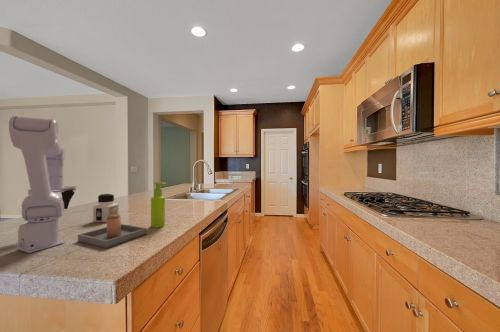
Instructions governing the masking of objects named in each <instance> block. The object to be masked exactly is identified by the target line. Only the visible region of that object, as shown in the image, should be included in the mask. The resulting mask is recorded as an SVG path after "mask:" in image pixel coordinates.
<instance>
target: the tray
mask: <svg viewBox="0 0 500 332" xmlns="http://www.w3.org/2000/svg"><path fill="white" fill-rule="evenodd" d="M147 232H148V231H147V227H144V226H143V227H142V226H137V225H131V224H126V223H125V224H124V223H121V236H119V237H115V238H107V226H105V227H102V228H98V229H94V230H91V231H86V232H83V233H79V234H77V242H79V243H82V244H86V245H89V244H90V246H93V245H94V247H97V246H98V248H102V249H106V250H107V249H109V248H110V249H111V248H113V247H115V246H118V245H121V244H123V243H124V244H125V243H127V242H129V241H132V240H134V239H138V238H141V237H143V236H146V235H147Z"/></svg>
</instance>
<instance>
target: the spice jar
mask: <svg viewBox="0 0 500 332" xmlns="http://www.w3.org/2000/svg"><path fill="white" fill-rule="evenodd" d="M121 224H122V218H121V215H120V214H118V215H109V216H107V222H106V227H107V238H115V237H119V236H121Z"/></svg>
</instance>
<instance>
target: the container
mask: <svg viewBox="0 0 500 332" xmlns="http://www.w3.org/2000/svg"><path fill="white" fill-rule="evenodd" d="M97 199H98V200H97V203H98V204H97V205H94V206H92V207H93V208H92V214H93V215H92V217H93V218H92V219H93V221H92V222H93V223H107V216H109V215H119V203H115V195H114V194H112V193H103V194H102V193H101V194H99V195H98V197H97Z"/></svg>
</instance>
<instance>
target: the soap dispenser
mask: <svg viewBox="0 0 500 332" xmlns="http://www.w3.org/2000/svg"><path fill="white" fill-rule="evenodd" d="M153 185H155V188H154V190H153V196H152V197H150V227H151V228H162V227H164V226H165V225H166V224H165V221H166V218H165V215H166V213H165V211H166V208H165V207H166V205H165V204H166V200H165V199H166V197H165V196H163V192H162V191H163V189H161V185H167V182H163V181H156V182H153Z"/></svg>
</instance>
